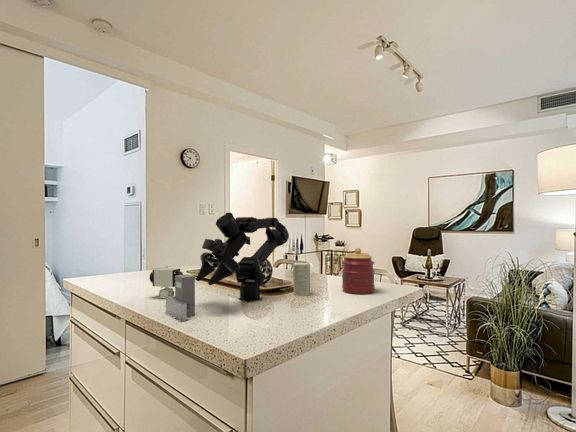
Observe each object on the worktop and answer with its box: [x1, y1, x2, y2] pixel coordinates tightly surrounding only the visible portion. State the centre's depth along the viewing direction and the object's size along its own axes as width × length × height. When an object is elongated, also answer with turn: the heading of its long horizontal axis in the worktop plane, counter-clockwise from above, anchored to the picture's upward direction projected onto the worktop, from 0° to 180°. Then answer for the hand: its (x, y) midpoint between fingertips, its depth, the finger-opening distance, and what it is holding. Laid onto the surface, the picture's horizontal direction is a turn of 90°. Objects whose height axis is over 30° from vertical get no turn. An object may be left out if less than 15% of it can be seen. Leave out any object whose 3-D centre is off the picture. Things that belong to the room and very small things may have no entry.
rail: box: [165, 296, 190, 322], centre depth 101 cm, size 3×13×5 cm, turn 39°
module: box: [174, 273, 196, 318], centre depth 102 cm, size 4×6×12 cm
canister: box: [341, 247, 376, 295], centre depth 134 cm, size 13×13×18 cm
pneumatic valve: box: [149, 265, 184, 300], centre depth 126 cm, size 6×12×12 cm, turn 78°
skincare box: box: [292, 262, 311, 296], centre depth 130 cm, size 6×4×12 cm
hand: (202, 282), depth 107 cm, fingers open, 9 cm apart
